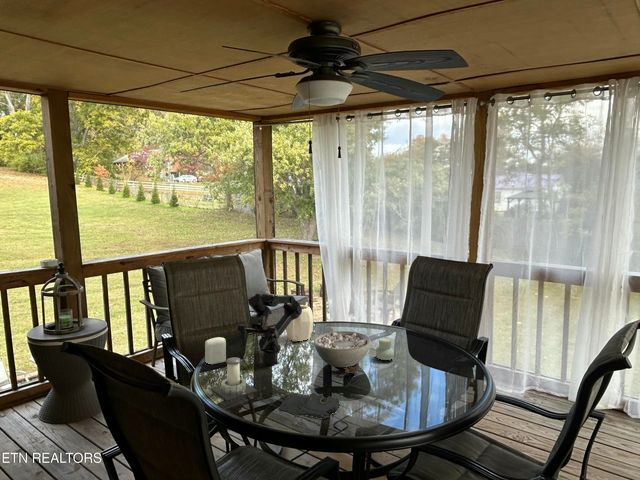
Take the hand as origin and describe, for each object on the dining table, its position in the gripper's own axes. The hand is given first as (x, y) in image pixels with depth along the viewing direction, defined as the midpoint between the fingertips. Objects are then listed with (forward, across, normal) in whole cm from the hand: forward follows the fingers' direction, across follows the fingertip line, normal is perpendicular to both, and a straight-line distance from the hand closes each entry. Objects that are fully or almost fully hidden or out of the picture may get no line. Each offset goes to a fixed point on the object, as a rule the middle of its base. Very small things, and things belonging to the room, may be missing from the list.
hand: (252, 348), depth 197 cm
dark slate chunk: (+24, +33, -4) cm, 41 cm away
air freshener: (-19, +54, +38) cm, 69 cm away
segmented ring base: (+20, -2, 0) cm, 20 cm away
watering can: (-33, +3, +52) cm, 62 cm away
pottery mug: (-3, +39, +23) cm, 45 cm away
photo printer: (+1, -25, +19) cm, 31 cm away
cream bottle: (+19, -2, -1) cm, 19 cm away
